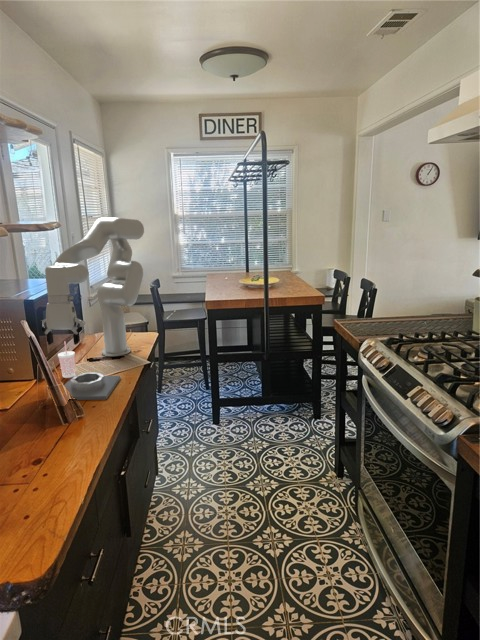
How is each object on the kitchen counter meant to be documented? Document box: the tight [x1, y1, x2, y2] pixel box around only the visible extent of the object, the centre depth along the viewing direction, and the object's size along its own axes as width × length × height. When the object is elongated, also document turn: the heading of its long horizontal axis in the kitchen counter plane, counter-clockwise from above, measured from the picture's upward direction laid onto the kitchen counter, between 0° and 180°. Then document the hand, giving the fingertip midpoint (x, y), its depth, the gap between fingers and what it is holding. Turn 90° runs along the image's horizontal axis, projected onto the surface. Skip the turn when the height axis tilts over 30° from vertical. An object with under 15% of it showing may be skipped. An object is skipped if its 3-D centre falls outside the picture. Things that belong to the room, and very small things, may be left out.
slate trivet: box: [63, 375, 121, 401], centre depth 146 cm, size 18×18×1 cm
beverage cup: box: [57, 340, 76, 379], centre depth 157 cm, size 6×6×14 cm
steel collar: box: [71, 371, 105, 392], centre depth 146 cm, size 10×10×3 cm
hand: (63, 343), depth 155 cm, fingers open, 9 cm apart
